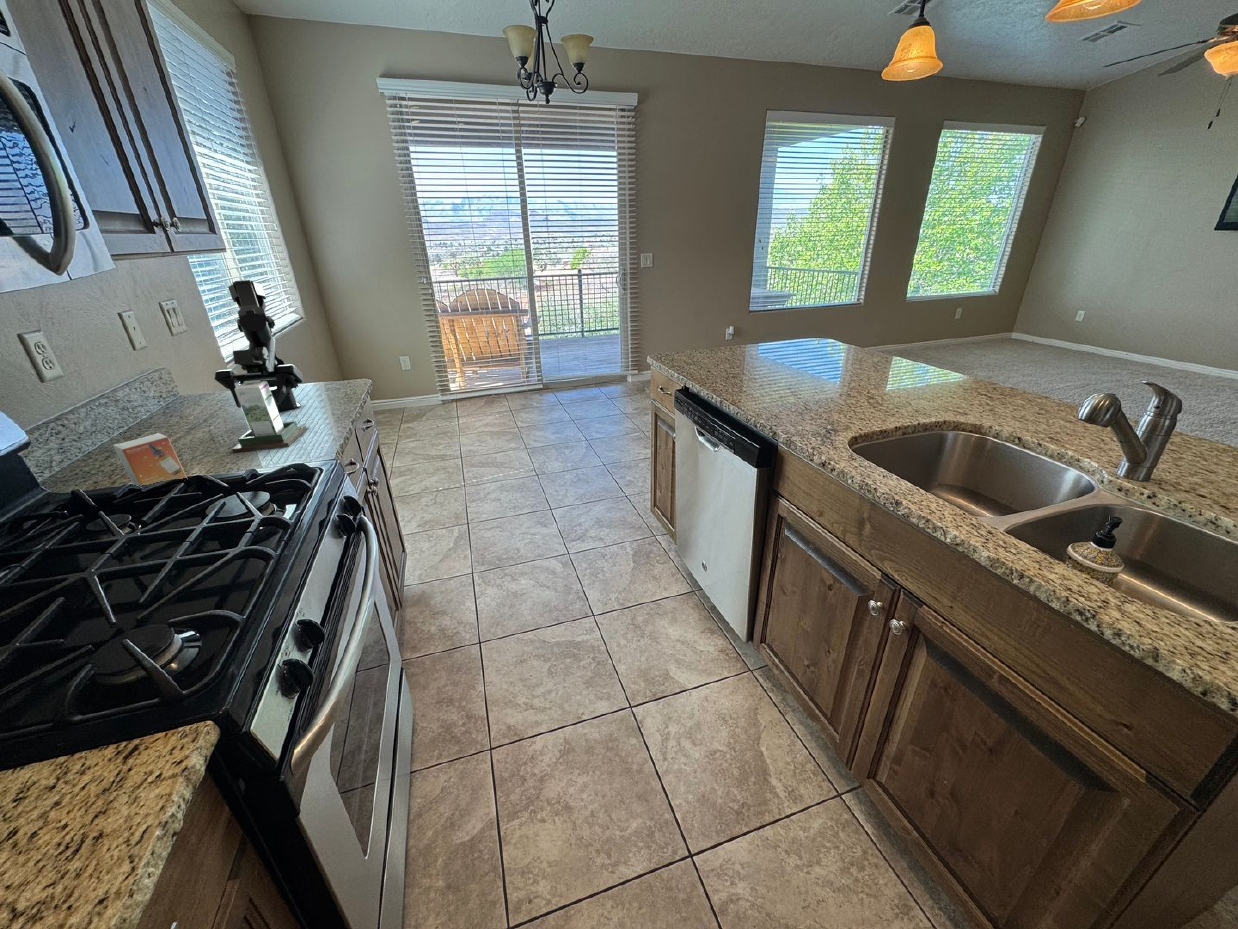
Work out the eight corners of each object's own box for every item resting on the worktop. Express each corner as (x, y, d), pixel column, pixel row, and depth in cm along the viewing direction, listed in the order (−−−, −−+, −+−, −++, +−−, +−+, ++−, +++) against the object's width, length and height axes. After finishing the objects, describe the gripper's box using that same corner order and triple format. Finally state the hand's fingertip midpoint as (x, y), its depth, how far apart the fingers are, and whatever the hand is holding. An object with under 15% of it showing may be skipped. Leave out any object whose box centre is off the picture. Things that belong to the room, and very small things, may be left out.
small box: (144, 494, 104) (120, 449, 99) (134, 488, 107) (111, 444, 102) (188, 479, 110) (168, 436, 105) (178, 474, 113) (158, 432, 108)
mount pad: (256, 434, 135) (252, 424, 133) (306, 428, 137) (303, 419, 136) (233, 452, 123) (228, 441, 122) (288, 446, 125) (284, 435, 124)
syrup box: (286, 431, 133) (267, 379, 127) (278, 438, 128) (258, 385, 122) (263, 434, 132) (242, 382, 126) (254, 442, 127) (233, 388, 120)
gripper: (202, 339, 122) (196, 394, 117) (283, 333, 125) (281, 386, 120) (230, 362, 132) (225, 414, 127) (304, 356, 135) (303, 406, 130)
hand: (258, 405), depth 126 cm, fingers open, 9 cm apart
